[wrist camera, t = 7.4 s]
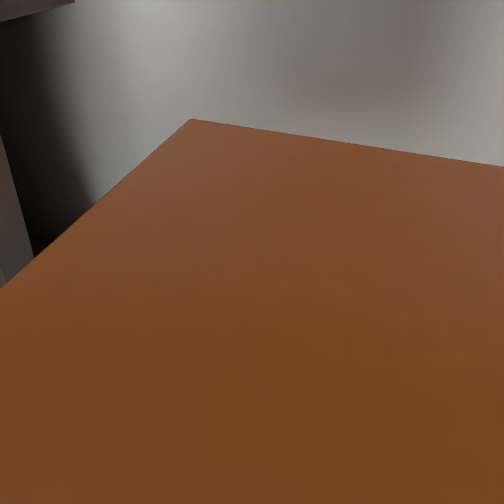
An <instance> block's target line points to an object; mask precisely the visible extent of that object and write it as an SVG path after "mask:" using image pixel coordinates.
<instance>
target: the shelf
mask: <svg viewBox="0 0 504 504" xmlns="http://www.w3.org/2000/svg"><path fill="white" fill-rule="evenodd" d="M74 2H75V0H0V22H3V21H6V20H10V19H14V18H18V17H21V16H25V15H29V14H33V13H36V12H40V11H44V10H48V9H51V8H55V7H59V6H63V5H66V4H70V3H74ZM48 246H49V245H48V244H43V243H39V242H35V241H30V240H29V237H28V233H27V229H26V226H25V222H24V218H23V215H22V211H21V207H20V204H19V200H18V196H17V193H16V189H15V185H14V182H13V178H12V174H11V171H10V167H9V163H8V160H7V156H6V152H5V149H4V145H3V141H2V138H1V134H0V289H1V288H2V287H3V286H4V285H5V284H6V283H8V282H9V281H10V280H11V279H12V278H13V277H14V276H15V275H16V274H18V273H19V272H20V271H21V270H22V269H23V268H24V267H25V266H26V265H28V264H29V263H30V262H31V261H32V260H33V259H34V258H35V257H37V256H38V255H39V254H40V253H41V252H42V251H43V250H44V249H45V248H47V247H48Z"/></svg>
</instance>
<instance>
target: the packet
mask: <svg viewBox="0 0 504 504" xmlns="http://www.w3.org/2000/svg"><path fill="white" fill-rule="evenodd" d="M0 504H504V167H500V166H494V165H487V164H481V163H474V162H468V161H461V160H455V159H448V158H442V157H435V156H429V155H422V154H416V153H410V152H403V151H397V150H390V149H384V148H377V147H371V146H364V145H358V144H351V143H345V142H338V141H332V140H326V139H319V138H313V137H306V136H300V135H293V134H287V133H280V132H274V131H267V130H261V129H254V128H248V127H241V126H235V125H229V124H222V123H216V122H209V121H203V120H196V119H190V120H188V121H187V122H186V123H185V124H184V125H183V126H182V127H180V128H179V129H178V130H177V131H176V132H175V133H174V134H173V135H172V136H170V137H169V138H168V139H167V140H166V141H165V142H164V143H163V144H161V145H160V146H159V147H158V148H157V149H156V150H155V151H154V152H153V153H151V154H150V155H149V156H148V157H147V158H146V159H145V160H144V161H142V162H141V163H140V164H139V165H138V166H137V167H136V168H135V169H134V170H132V171H131V172H130V173H129V174H128V175H127V176H126V177H125V178H124V179H122V180H121V181H120V182H119V183H118V184H117V185H116V186H115V187H113V188H112V189H111V190H110V191H109V192H108V193H107V194H106V195H105V196H103V197H102V198H101V199H100V200H99V201H98V202H97V203H96V204H95V205H93V206H92V207H91V208H90V209H89V210H88V211H87V212H86V213H84V214H83V215H82V216H81V217H80V218H79V219H78V220H77V221H76V222H74V223H73V224H72V225H71V226H70V227H69V228H68V229H67V230H66V231H64V232H63V233H62V234H61V235H60V236H59V237H58V238H57V239H55V240H54V241H53V242H52V243H51V244H50V245H49V246H48V247H47V248H45V249H44V250H43V251H42V252H41V253H40V254H39V255H38V256H37V257H35V258H34V259H33V260H32V261H31V262H30V263H29V264H28V265H26V266H25V267H24V268H23V269H22V270H21V271H20V272H19V273H18V274H16V275H15V276H14V277H13V278H12V279H11V280H10V281H9V282H8V283H6V284H5V285H4V286H3V287H2V288H1V289H0Z"/></svg>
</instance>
